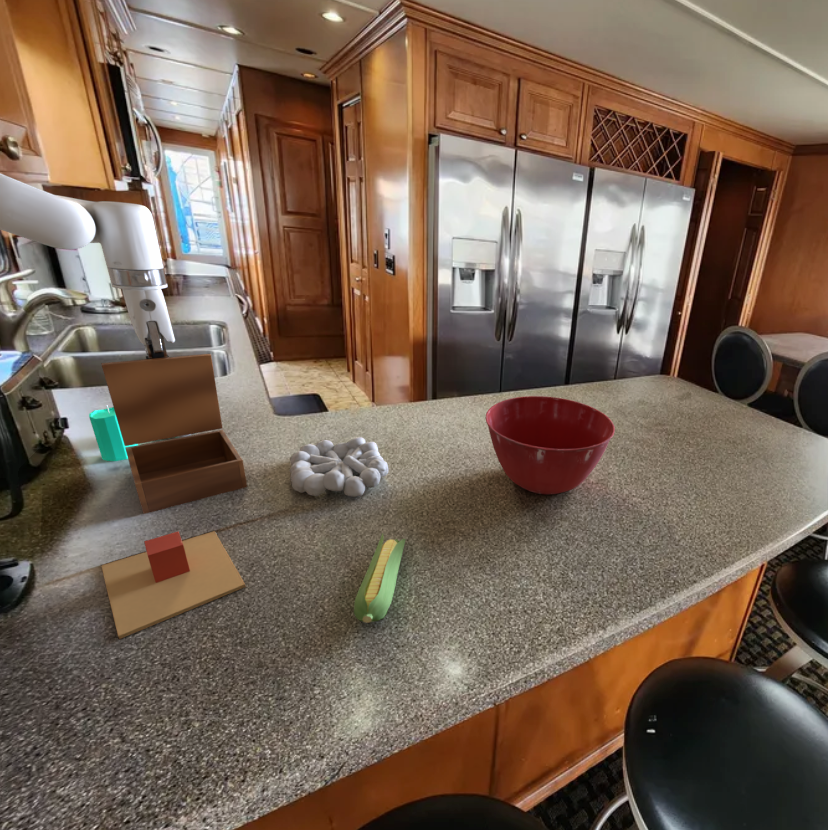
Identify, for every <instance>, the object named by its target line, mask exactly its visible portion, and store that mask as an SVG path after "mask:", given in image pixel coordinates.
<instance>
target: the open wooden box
mask: <svg viewBox="0 0 828 830" xmlns="http://www.w3.org/2000/svg"><path fill="white" fill-rule="evenodd" d="M125 448H126V452H127V456H128V459H127V460H128V463H129V467H130V472H131V475H132V479H133V482H134V486H135V489H136V493H137V497H138V500H139V503H140V507H141V510H142V514H143V515H146V514H149V513H153V512H157V511H161V510H165V509H169V508H172V507H177V506H180V505H184V504H188V503H192V502H196V501H199V500H203V499H207V498H211V497H215V496H218V495H222V494H226V493H230V492H234V491H238V490H241V489H245V488H248V481H247V476H246V469H245V465H244V460H243V458H242V457H241V455H240V454H239V452H238V451H237V450H236V447H235V446H234V445H233V443H232V442H231V440H230V439H229V437H228V436H227V435H226V433H225V431H224V430H223V429H217V430H211V431H206V432H200V433H195V434H191V435H189V436H185V437H180V438H168V439H162V440H157V441H151V442H146V443H141V444H138V445H136V446H131V447H125Z"/></svg>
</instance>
